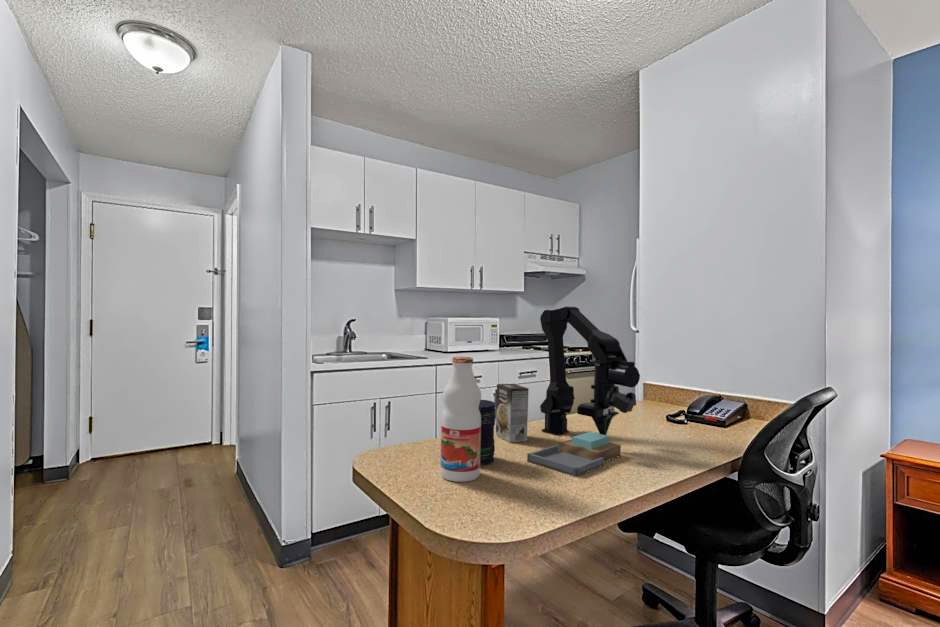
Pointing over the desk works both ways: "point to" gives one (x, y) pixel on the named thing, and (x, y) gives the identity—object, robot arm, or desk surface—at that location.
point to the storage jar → (487, 431)
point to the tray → (563, 461)
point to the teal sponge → (590, 440)
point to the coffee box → (512, 412)
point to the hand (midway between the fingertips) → (603, 436)
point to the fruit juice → (461, 424)
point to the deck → (592, 450)
